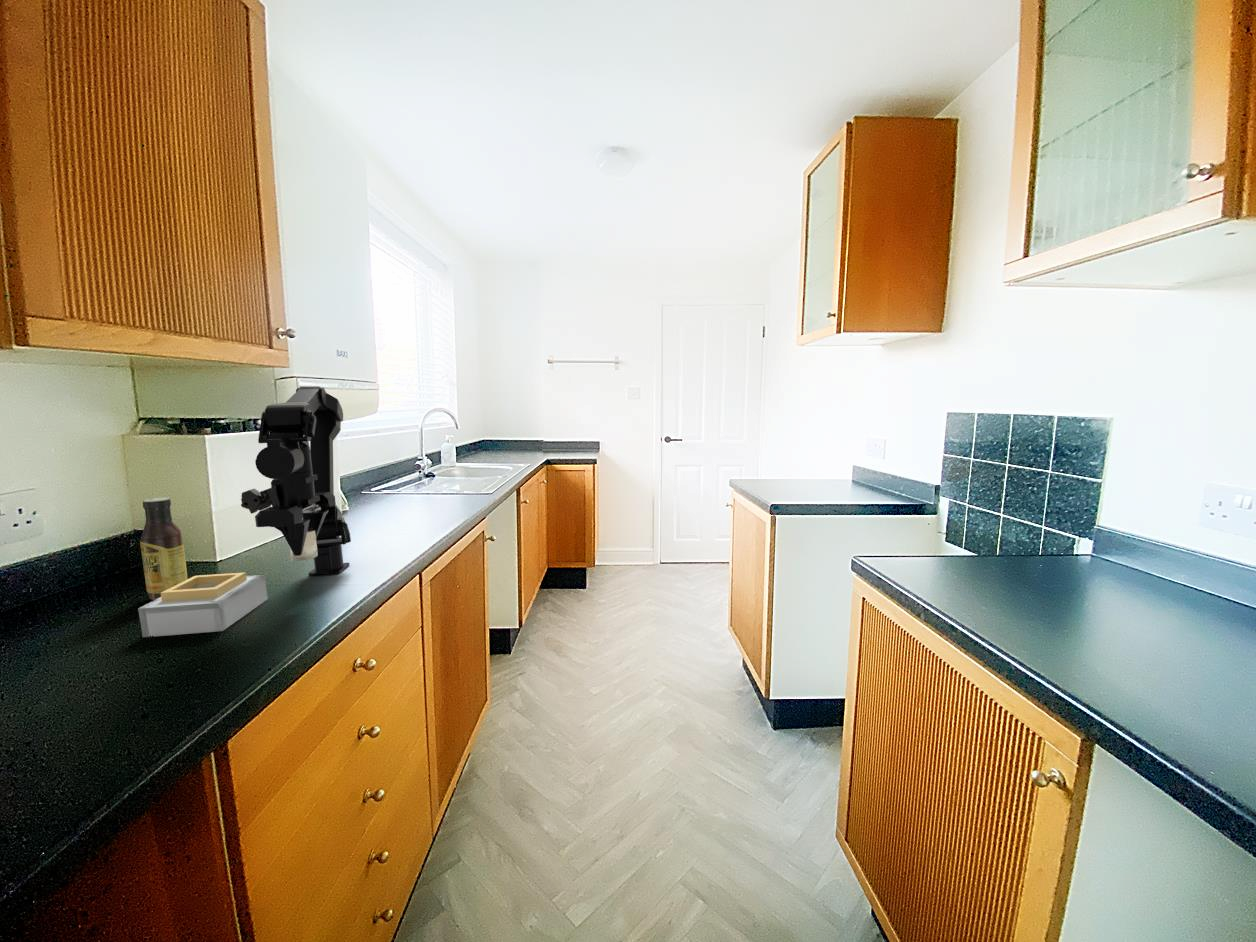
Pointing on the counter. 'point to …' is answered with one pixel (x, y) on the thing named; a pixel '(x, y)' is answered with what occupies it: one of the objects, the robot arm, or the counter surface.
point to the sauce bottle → (161, 548)
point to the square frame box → (203, 604)
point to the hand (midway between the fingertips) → (303, 551)
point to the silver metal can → (307, 547)
